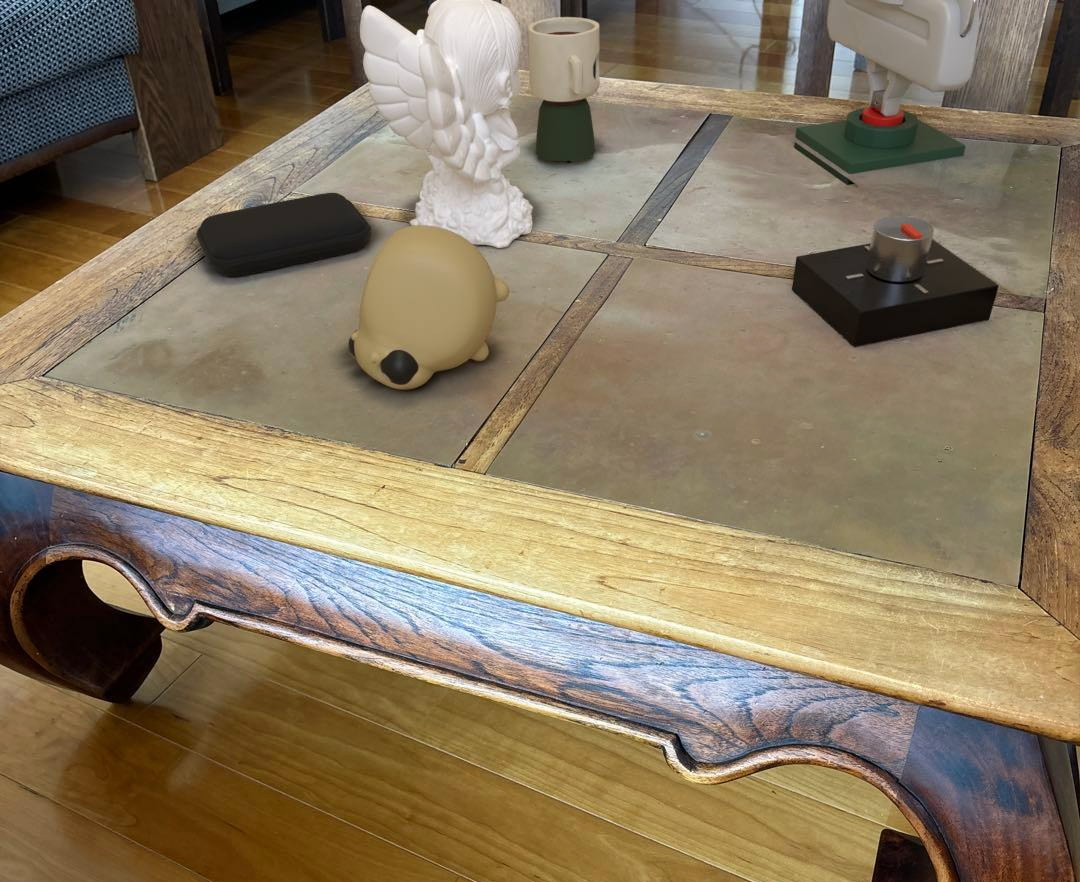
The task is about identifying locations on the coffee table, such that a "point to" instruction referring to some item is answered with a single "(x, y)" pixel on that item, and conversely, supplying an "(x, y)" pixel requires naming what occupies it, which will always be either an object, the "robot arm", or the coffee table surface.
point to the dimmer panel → (892, 294)
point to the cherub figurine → (454, 111)
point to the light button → (881, 118)
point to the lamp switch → (875, 144)
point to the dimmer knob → (899, 248)
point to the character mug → (564, 85)
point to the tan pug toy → (425, 307)
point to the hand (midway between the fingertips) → (882, 111)
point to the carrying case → (282, 234)
